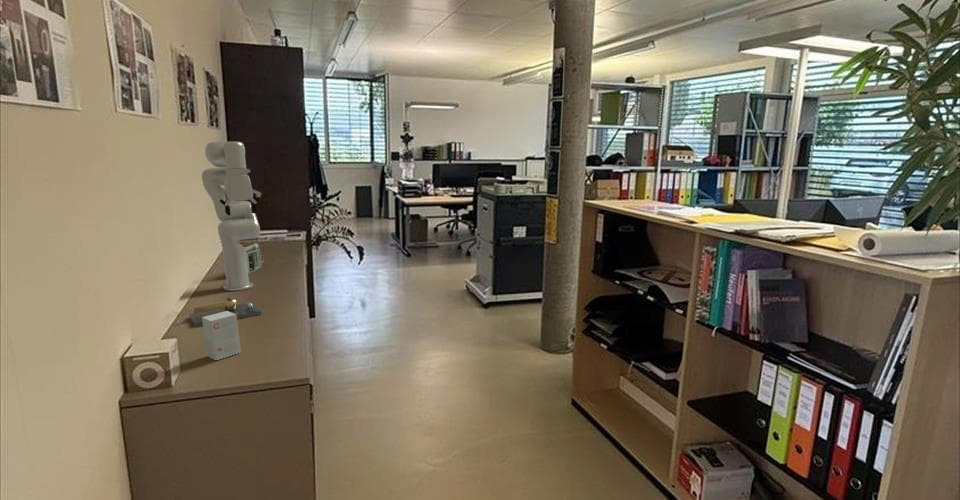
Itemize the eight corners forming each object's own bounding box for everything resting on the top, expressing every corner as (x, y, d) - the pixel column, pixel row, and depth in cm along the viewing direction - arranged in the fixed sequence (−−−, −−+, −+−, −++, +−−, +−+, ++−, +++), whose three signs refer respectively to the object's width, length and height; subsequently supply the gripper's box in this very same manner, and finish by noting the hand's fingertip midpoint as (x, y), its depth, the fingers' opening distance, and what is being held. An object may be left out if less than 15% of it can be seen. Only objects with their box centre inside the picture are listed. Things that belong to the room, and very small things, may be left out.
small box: (232, 348, 171) (227, 310, 169) (241, 353, 167) (236, 314, 165) (206, 356, 165) (201, 316, 163) (215, 361, 161) (210, 320, 159)
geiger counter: (237, 250, 261) (266, 241, 285) (225, 250, 262) (256, 241, 286) (240, 278, 264) (269, 266, 288) (228, 277, 265) (258, 266, 289)
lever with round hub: (193, 314, 201) (191, 303, 200) (235, 306, 210) (234, 296, 209) (194, 317, 198) (193, 306, 197) (238, 309, 207) (237, 298, 206)
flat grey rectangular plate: (189, 317, 203) (188, 307, 203) (252, 305, 217) (251, 296, 216) (195, 327, 192) (194, 316, 191) (261, 314, 205) (260, 304, 205)
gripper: (256, 171, 224) (260, 211, 227) (211, 173, 214) (216, 215, 217) (261, 171, 218) (265, 213, 221) (215, 174, 208) (220, 217, 211)
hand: (241, 214), depth 219 cm, fingers open, 9 cm apart
